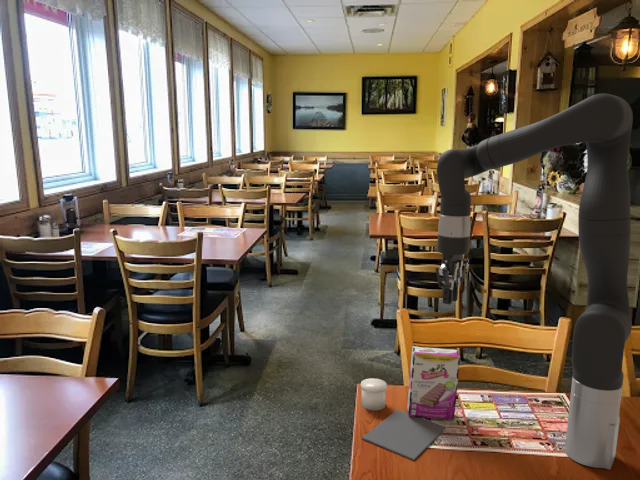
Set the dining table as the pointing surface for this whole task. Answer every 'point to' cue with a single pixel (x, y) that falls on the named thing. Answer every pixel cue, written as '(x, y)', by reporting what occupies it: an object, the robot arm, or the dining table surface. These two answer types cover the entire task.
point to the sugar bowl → (373, 394)
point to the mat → (404, 434)
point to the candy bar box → (433, 383)
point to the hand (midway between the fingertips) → (450, 301)
